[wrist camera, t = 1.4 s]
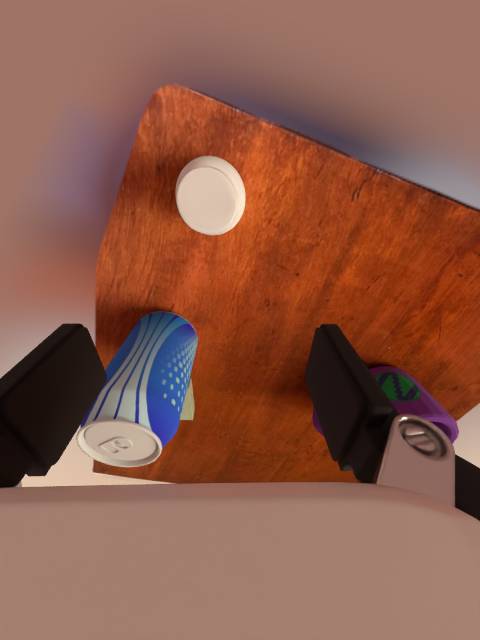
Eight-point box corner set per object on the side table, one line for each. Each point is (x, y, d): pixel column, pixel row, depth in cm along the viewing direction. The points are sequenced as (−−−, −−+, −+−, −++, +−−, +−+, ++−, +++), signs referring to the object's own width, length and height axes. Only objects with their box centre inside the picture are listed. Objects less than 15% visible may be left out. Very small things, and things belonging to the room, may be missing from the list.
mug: (416, 354, 35) (474, 411, 26) (403, 402, 41) (447, 461, 32) (302, 371, 36) (322, 430, 28) (305, 415, 42) (323, 474, 34)
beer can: (134, 303, 30) (48, 410, 16) (199, 309, 30) (170, 417, 17) (141, 353, 34) (78, 470, 20) (198, 357, 35) (174, 474, 21)
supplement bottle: (205, 147, 21) (187, 128, 13) (253, 183, 23) (264, 187, 15) (181, 202, 24) (152, 216, 15) (226, 232, 25) (221, 258, 17)
